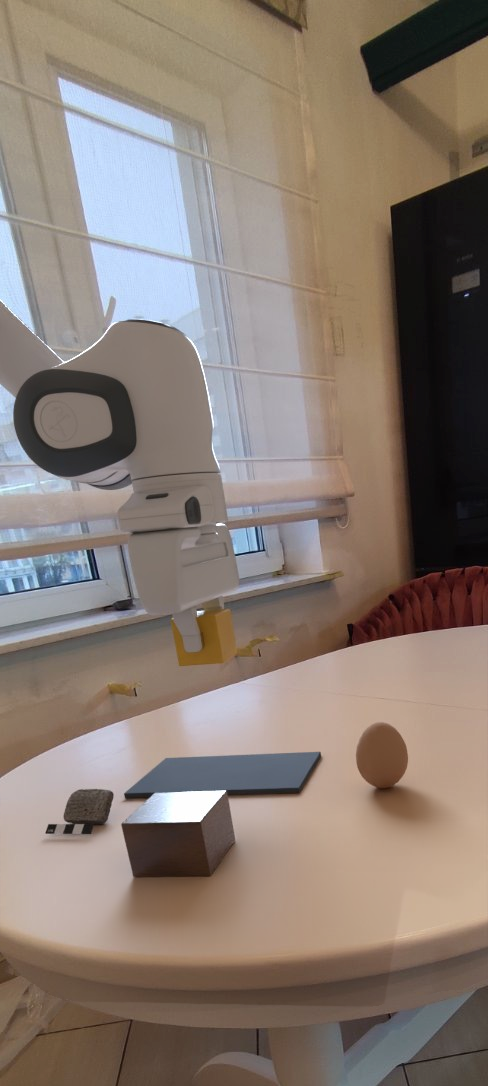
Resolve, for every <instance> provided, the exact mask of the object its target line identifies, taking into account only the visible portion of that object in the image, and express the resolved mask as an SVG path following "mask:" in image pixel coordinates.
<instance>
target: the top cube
mask: <svg viewBox="0 0 488 1086" xmlns="http://www.w3.org/2000/svg"><path fill="white" fill-rule="evenodd" d="M196 621H197V624H198V627H199V630H200V632H203V636H204V642H205V647H204V649H202V650H200V651H199V652H189V653H188V652H186V651H185V649H184V644H183V639H182V636H181V634H180V632H179V630H178V628H177V626H176V625H175V623H174V621H173V617H172V618H170V624H171V625H170V626H171V630H172V636H173V640H174V646H175V651H176V656H177V662H178V666H179V667H190V666H202V665H203V666H204V665H217V664H218V665H220V664H224V663H226V662H228V661H229V660H230V659H231V658H233V657H235V656H237V654H238V650H237V644H236V643H237V642H236V636H235V631H234V624H233V618H232V612H231V608H224V609H220V610H207V611H204V610H197V617H196Z"/></svg>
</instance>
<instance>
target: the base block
mask: <svg viewBox="0 0 488 1086" xmlns="http://www.w3.org/2000/svg"><path fill="white" fill-rule="evenodd" d="M120 826H121V830H122V835H123V839H124V842H125V847H126V850H127V856H128V860H129V864H130V869H131V873H132V877H133V878H135V877H139V878H140V877H143V878H145V877H211V876H212V874H213V873H214V872H215V870H216V868H217V867H218V866H219V864H220V863H221V862H222V860H223V858H224V857H225V856H226V854H227V853H228V852H229V850H230V849H231V847H232V846H233V844H234V843H235V842H236V837H235V829H234V824H233V818H232V812H231V806H230V801H229V795H228V794H227V791H198V792H167V793H154V794H153V795H152V796H151V797H148V798H147V799H146V800H145V801H144V802H143V803H142V804H141V805H140V806H139V807H138V808H136V810H134V811H133V812H132V813H131V814H130V815H129V816H128V817H126V819H125V820H124V821H122V822H121V824H120Z"/></svg>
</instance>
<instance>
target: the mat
mask: <svg viewBox="0 0 488 1086" xmlns="http://www.w3.org/2000/svg"><path fill="white" fill-rule="evenodd" d="M321 757H322V752H321V751H302V752H280V753H279V752H278V753H256V754H253V753H252V754H229V755H228V754H227V755H209V756H208V755H207V756H206V755H205V756H184V757H183V756H182V757H165V758H164V759H163V760H162V761H160V762H159V763H158V764H157V765H155V766H154V767H153V768H152V769H151V770H150V771H148V772H147V773H146V774H145V775H144V776H142V777H141V778H140V779H139V780H138V781H137V782H135V784H133V785H132V786H131V787H130V788H128V789H127V790H126V791H125V792H124V793H123V796H124V799H144V798H145V799H149V798H150V797H151V796H152V795H153V794H154V793H167V792H198V791H227V794H228V796H241V795H269V794H272V795H273V794H298V793H299V794H300V793H301V791H302V790H303V789H304V786H305V785H306V782H307V781H308V779H309V778H310V776H311V774H312V773H313V771H314V769H315V768H316V766H317V764H318V762H319V760H320V759H321Z"/></svg>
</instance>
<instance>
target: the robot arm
mask: <svg viewBox="0 0 488 1086" xmlns="http://www.w3.org/2000/svg"><path fill="white" fill-rule="evenodd" d="M0 385H1V386H2V387H3V388H4V389H5V390H6V391H7V392H8V393H9V394H11V395H12V396H13V397H14V398H15V399H14V402H13V403H14V404H13V411H12V417H13V418H12V420H13V426H14V431H15V434H16V437H17V441H18V442H19V445H20V446H21V448H22V450H23V451H24V453H25V454H26V456H28V458H29V459H30V460H31V461H32V462H33V463H34V464H35V465H37V467H38V468H40V469H42V470H43V471H45V472H47V473H49V474H51V475H52V476H55V477H57V478H60V479H63V480H66V481H70V482H71V481H72V482H75V483H79V484H85V485H88V486H90V487H93V488H95V489H98V490H99V489H100V490H103V491H104V490H105V491H116V490H121V489H124V488H127V487H129V486H131V485H132V491H133V492H132V493H131V494H130V496H129V498H127V500H126V501H125V502H124V503H123V504H122V505H121V506H120V507H119V508H118V510H117V520H118V521H117V522H118V525H119V528H120V531H121V533H123V534H125V535H129V534H130V535H129V536H128V538H127V553H128V558H129V562H130V567H131V568H130V569H131V572H132V577H133V581H134V584H135V588H136V592H137V595H138V596H137V597H138V599H139V602H140V604H141V606H142V607H143V609H144V610H145V612H146V613H147V614H148V616H162V615H172V618H173V621H174V623H175V625H176V626H177V628H178V630H179V632H180V634H181V636H182V639H183V644H184V649H185V651H186V652H188V653H189V652H199V651H200V650H202V649H204V647H205V642H204V636H203V632H200V630H199V627H198V624H197V621H196V617H197V611H198V610H197V607H198V606H200V605H201V607H202V609H204V610H203V611H207V610H220V609H225V603H224V597H223V596H225V595H228V594H230V593H233V592H235V591H238V590H239V587H240V574H239V569H238V563H237V559H236V553H235V548H234V543H233V540H232V535H231V532H230V530H229V528H228V526H227V525H226V524H225V523H228V522H229V518H228V512H227V511H228V510H227V504H226V498H225V497H226V496H225V491H224V485H223V477H222V472H221V471H222V470H221V467H220V465H219V462H218V460H217V457H216V454H215V451H214V445H213V444H214V443H213V437H214V436H213V435H214V427H215V426H214V418H213V412H212V411H213V410H212V406H211V400H210V395H209V390H208V385H207V380H206V375H205V372H204V368H203V364H202V360H201V358H200V355H199V352H198V350H197V347H196V346H195V344H194V343H193V341H192V340H191V339H190V338H189V337H188V336H187V334H185V332H182V331H181V330H180V329H178V328H176V327H175V326H173V325H170V324H165V323H164V322H161V321H157V320H151V319H145V318H127V319H121V320H117V321H114V322H113V323H111V324H110V326H109V327H108V328H107V330H106V331H105V333H104V334H103V335H102V336H101V337H100V338H99V339H98V340H97V341H96V342H95V343H94V344H93V345H91V346H90V347H88V348H87V349H86V350H84V351H83V352H81V353H80V354H78V355H76V356H75V357H73V358H71V359H69V360H67V361H65V360H64V359H63V358H61V356H59V355H58V354H57V353H56V352H55V351H54V350H53V349H52V348H51V347H50V346H49V345H48V344H47V343H46V342H45V341H44V340H43V339H41V338H40V337H39V335H37V334H36V332H35V331H33V330H32V329H31V328H30V327H29V326H28V325H27V324H26V323H25V322H24V321H23V320H22V319H21V318H20V317H19V316H18V315H16V313H14V311H12V309H10V308H9V306H7V305H6V304H5V303H4V302H3V301H2V299H0Z"/></svg>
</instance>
